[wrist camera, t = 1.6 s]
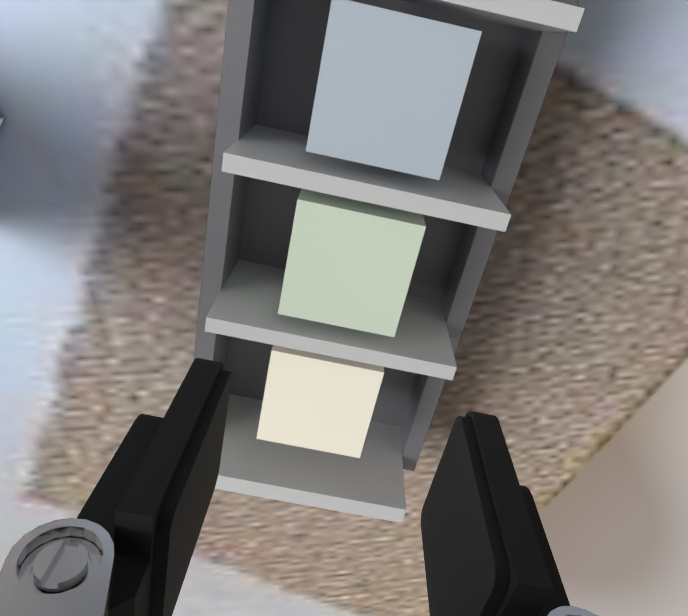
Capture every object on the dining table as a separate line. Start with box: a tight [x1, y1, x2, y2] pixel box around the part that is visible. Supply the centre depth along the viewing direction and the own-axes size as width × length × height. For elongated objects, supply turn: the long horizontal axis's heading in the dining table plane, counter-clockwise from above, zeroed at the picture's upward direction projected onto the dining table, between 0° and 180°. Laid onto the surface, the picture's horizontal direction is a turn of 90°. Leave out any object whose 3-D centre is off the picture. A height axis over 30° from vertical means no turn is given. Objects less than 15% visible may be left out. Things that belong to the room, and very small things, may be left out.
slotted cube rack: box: [194, 0, 585, 523], centre depth 21 cm, size 28×11×7 cm, turn 168°
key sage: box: [278, 189, 426, 337], centre depth 21 cm, size 4×4×3 cm
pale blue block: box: [306, 0, 482, 180], centre depth 18 cm, size 4×4×3 cm
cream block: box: [256, 345, 384, 458], centre depth 24 cm, size 4×4×3 cm
